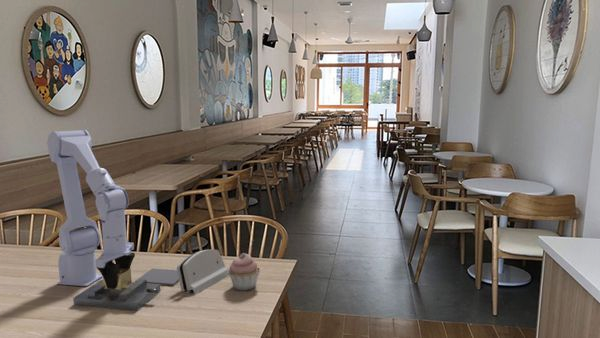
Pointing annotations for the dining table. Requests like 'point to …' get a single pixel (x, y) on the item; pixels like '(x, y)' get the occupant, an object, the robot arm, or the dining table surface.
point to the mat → (161, 277)
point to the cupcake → (244, 272)
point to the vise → (118, 296)
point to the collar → (121, 278)
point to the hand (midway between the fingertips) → (117, 284)
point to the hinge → (201, 270)
